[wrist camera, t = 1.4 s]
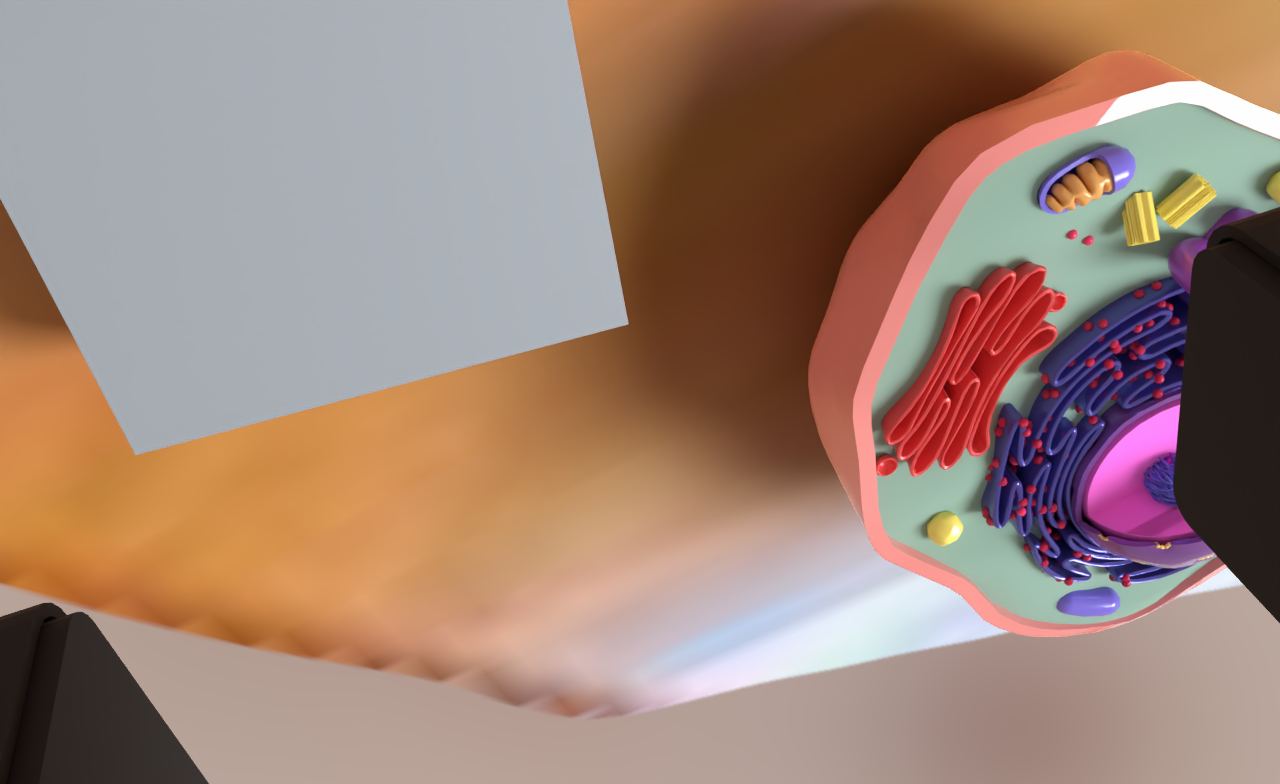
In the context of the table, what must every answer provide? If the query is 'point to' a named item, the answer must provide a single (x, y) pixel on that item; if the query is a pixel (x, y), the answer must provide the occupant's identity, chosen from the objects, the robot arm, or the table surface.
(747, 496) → the table surface
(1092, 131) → the cell model
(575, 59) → the base box
